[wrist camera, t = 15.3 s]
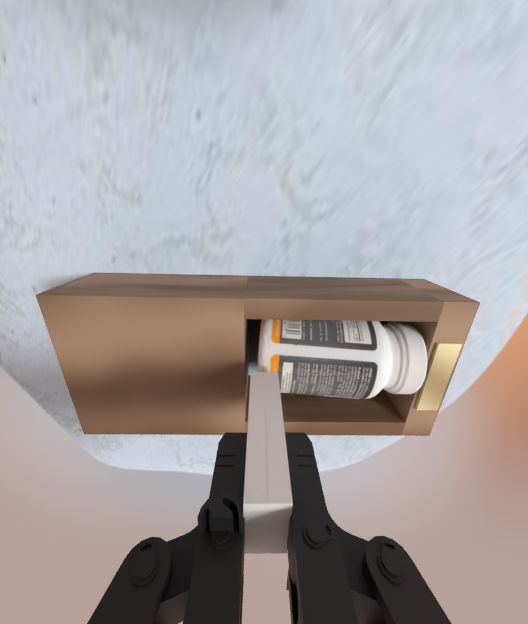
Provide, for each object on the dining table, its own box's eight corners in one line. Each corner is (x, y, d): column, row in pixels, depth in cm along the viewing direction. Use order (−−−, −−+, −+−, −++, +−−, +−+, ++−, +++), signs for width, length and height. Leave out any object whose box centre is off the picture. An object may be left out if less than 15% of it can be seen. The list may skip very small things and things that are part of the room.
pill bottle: (259, 376, 20) (383, 387, 19) (253, 404, 14) (429, 420, 14) (264, 306, 20) (389, 315, 19) (260, 305, 14) (438, 318, 14)
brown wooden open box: (94, 272, 18) (32, 296, 13) (424, 279, 18) (483, 303, 13) (122, 385, 21) (82, 436, 17) (393, 388, 22) (431, 437, 17)
